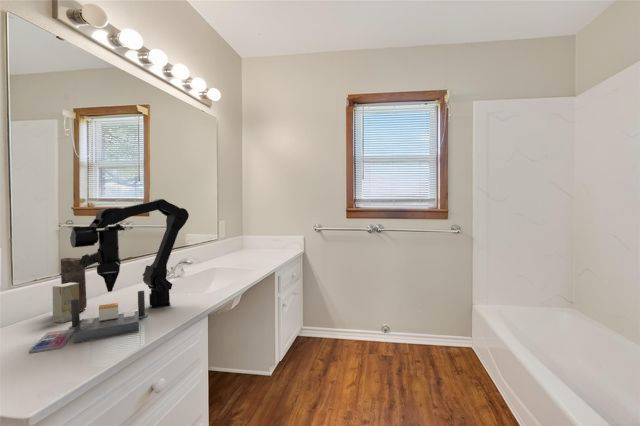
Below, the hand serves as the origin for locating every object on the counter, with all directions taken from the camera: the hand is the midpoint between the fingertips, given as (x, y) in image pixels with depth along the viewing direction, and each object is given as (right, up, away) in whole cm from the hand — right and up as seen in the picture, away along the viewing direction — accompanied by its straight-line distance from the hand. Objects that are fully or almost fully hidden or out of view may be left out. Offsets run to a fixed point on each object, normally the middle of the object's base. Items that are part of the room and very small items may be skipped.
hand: (110, 288), depth 112 cm
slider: (+6, -7, -10) cm, 14 cm away
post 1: (-5, -10, -10) cm, 15 cm away
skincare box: (-14, -11, -1) cm, 18 cm away
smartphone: (-4, -11, -19) cm, 23 cm away
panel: (+8, -10, -12) cm, 18 cm away
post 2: (+11, -10, 0) cm, 15 cm away
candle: (-18, -10, +8) cm, 22 cm away
